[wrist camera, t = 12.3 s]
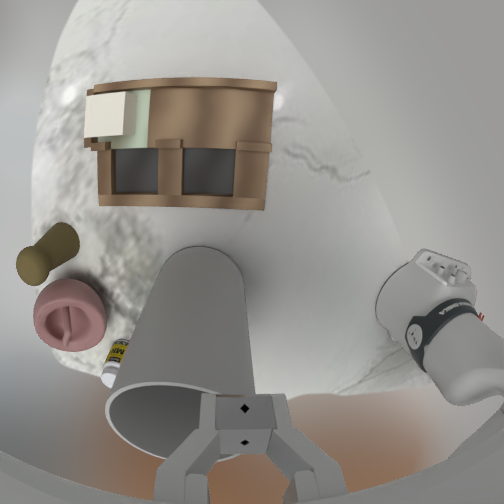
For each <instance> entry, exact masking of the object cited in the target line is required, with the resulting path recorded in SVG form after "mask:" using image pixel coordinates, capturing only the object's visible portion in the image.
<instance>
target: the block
mask: <svg viewBox="0 0 504 504" xmlns="http://www.w3.org/2000/svg"><path fill="white" fill-rule="evenodd" d="M136 109H137V96H136V95H133V94H131V93H128V92H116V93H107V94H98V95H91V96H87V98H86V111H85V130H84V138H89V137H104V136H119V135H135V124H136Z"/></svg>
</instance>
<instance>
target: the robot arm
mask: <svg viewBox="0 0 504 504" xmlns="http://www.w3.org/2000/svg"><path fill="white" fill-rule="evenodd" d="M428 257H429V258H428ZM470 278H471V268H470V266H469V265H468V264H466V263H463V262H461V261H458V260H455V259H453V258H450V257H447V256H444V255H442V254H438V253H436V252H433V251H430V250H427V249H422V250H420V251H419V252H418V253H417V254H416V255H415V257H414V258H413V259H412V260H411V262H409V263H408V264H406V265H405V266H403V267H402V268H400V269H399V270H398V271H396V272H395V273H394V274H393V275H392V276H391V277H390V278H389V280H388V281H387V282H386V284H385V285H384V287H383V288H382V290H381V292H380V294H379V297H378V300H377V305H376V315H377V319H378V321H379V323H380V324H381V325H382V326H383V327H384V328H385V329H386V330H388V331H389V335H390V338H391V339H392V340H393V341H394V342H399V344H400V345H401V346H402V347H403V348H404V349H405V350H406V351H407V352H408V353H409V354H410V355H411V356H412V357H413V358H414V360H415V361H416V364H417V365H418V366H419V367H420V368H421V369H422V370H423V371H424V372H426V373H428V374H429V376H430V377H431V379H432V380H433V382H434V383H435V385H436V386H437V387H438V389H439V390H440V392H441V393H442V395H443V396H444V398H445V399H446V400H447V401H448V402H449V403H451V404H453V405H457V406H465V405H470V404H473V403H476V402H479V401H481V400H483V399H486V398H488V397H491V396H495V395H502V396H503V397H504V339H503V338H501V337H500V336H499V335H497V334H496V333H495V332H494V331H492V330H491V329H490V328H489V327H488V326H487V325H485V324H484V323H483V322H482V320H483V318H484V315H483V317H482V319H481V314H482V313H480V314H479V316H478V314H477V312H476V310H475V309H474V305H475V301H476V295H477V291H476V287H475V285H474V284H473V283H472V282H471V281H470ZM480 319H481V320H480ZM220 454H267V456H268V457H269V458H270V459H271V460H272V462H273V463H274V464H275V465H276V466H277V468H278V469H279V470H280V471H281V472H282V473H283V474H284V475H285V477H286V478H287V479H288V480H289V481H290V484H289V486H288V488H287V489H286V491H285V493H284V495H283V496H282V498H283V504H504V403H503V404H502V406H501V408H500V409H499V410H498V411H497V412H496V413H495V414H494V415H493V416H492V417H491V418H490V419H489V420H488V421H486V423H484V424H483V425H482V426H481V427H480V428H479V429H478V430H477V431H476V432H475V433H473V434H472V435H471V436H470V437H469V438H468V439H466V440H465V441H464V442H463V443H462V444H461V445H460V446H459V447H458V448H457V449H456V450H455V451H454V452H453V454H451V455H450V457H449V458H448V459H447V460H445V461H443V462H441V463H439V464H436V465H434V466H432V467H429V468H427V469H425V470H422V471H419V472H417V473H414V474H412V475H409V476H406V477H403V478H401V479H397V480H395V481H391V482H389V483H386V484H382V485H379V486H375V487H372V488H368V489H364V490H360V491H357V492H352V493H348V491H347V488H346V484H345V481H344V477H343V474H342V471H341V468H340V464H338V463H337V462H336V461H335V460H333V459H332V458H331V457H330V456H329V455H327V454H326V453H325V452H324V451H323V450H321V449H320V448H319V447H318V446H317V445H316V444H314V443H313V442H312V441H311V440H310V439H308V438H307V437H306V436H305V435H304V434H303V433H302V432H301V431H300V430H298V429H297V428H293V427H292V423H291V418H290V413H289V409H288V405H287V400H286V395H285V394H248V395H228V394H207V393H202V396H201V407H200V423H199V429H195V430H194V431H193V432H192V433H191V434H190V435H189V436H188V437H187V438H186V439H185V440H184V442H183V443H182V444H181V445H180V446H179V447H178V448H177V449H176V450H175V451H174V452H173V453H172V454H171V455H170V456H169V457H168V458H167V459H166V461H164V462H163V463H162V464H161V465H160V466H159V468H158V469H157V473H156V482H155V489H154V497H153V501H150V500H144V499H139V498H134V497H129V496H123V495H119V494H115V493H111V492H107V491H103V490H99V489H95V488H91V487H88V486H85V485H81V484H78V483H75V482H72V481H69V480H66V479H64V478H61V477H58V476H55V475H52V474H50V473H48V472H45V471H43V470H40V469H38V468H36V467H33V466H31V465H29V464H26V463H24V462H22V461H20V460H18V459H16V458H14V457H12V456H10V455H8V454H6V453H4V452H2V451H0V504H210V494H209V487H208V480H207V477H206V475H207V474H208V472H209V471H210V470H211V468H212V467H213V465H214V464H215V463H216V461H217V460H218V458H219V457H220V456H221V455H220Z"/></svg>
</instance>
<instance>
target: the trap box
mask: <svg viewBox="0 0 504 504" xmlns="http://www.w3.org/2000/svg"><path fill="white" fill-rule="evenodd" d="M276 89H277V82H270V81H260V80H248V79H233V78H158V79H143V80H131V81H121V82H113V83H105V84H98V85H94V89H89V90H87V96H91V95H98V94H107V93H116V92H128V93H131V94H133V95H136V96H137V109H136V124H135V135H119V136H104V137H89V138H84V148H87V147H91V151H98V154H97V162H98V197H99V206H165V207H200V208H225V209H246V210H264V206H265V194H266V183H267V171H268V159H269V152H271V151H272V144H270V135H271V123H272V110H273V98H274V92H275V91H276Z"/></svg>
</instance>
